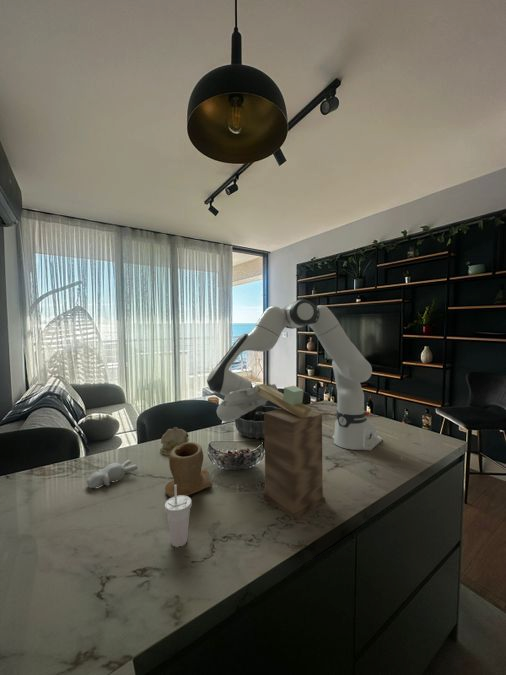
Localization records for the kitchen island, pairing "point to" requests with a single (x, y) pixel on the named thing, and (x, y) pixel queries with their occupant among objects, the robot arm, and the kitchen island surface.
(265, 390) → the oak slat
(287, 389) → the sage cube
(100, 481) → the bunny figurine
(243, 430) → the bundt pan
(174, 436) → the ceramic model
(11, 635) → the kitchen island surface
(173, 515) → the smoothie
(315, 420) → the walnut block
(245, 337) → the robot arm
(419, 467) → the kitchen island surface
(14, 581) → the kitchen island surface
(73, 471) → the kitchen island surface
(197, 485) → the stone cup
